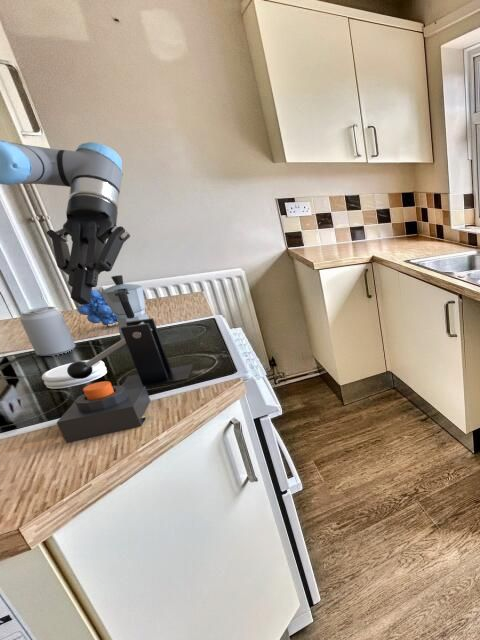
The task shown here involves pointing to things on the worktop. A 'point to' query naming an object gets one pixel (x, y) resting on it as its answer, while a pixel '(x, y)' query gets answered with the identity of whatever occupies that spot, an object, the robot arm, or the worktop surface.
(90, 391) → the stop button
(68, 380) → the white thick disc
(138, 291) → the coffee maker
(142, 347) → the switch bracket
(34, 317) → the can
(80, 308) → the grapes
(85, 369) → the lever
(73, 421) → the control block
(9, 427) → the worktop surface
